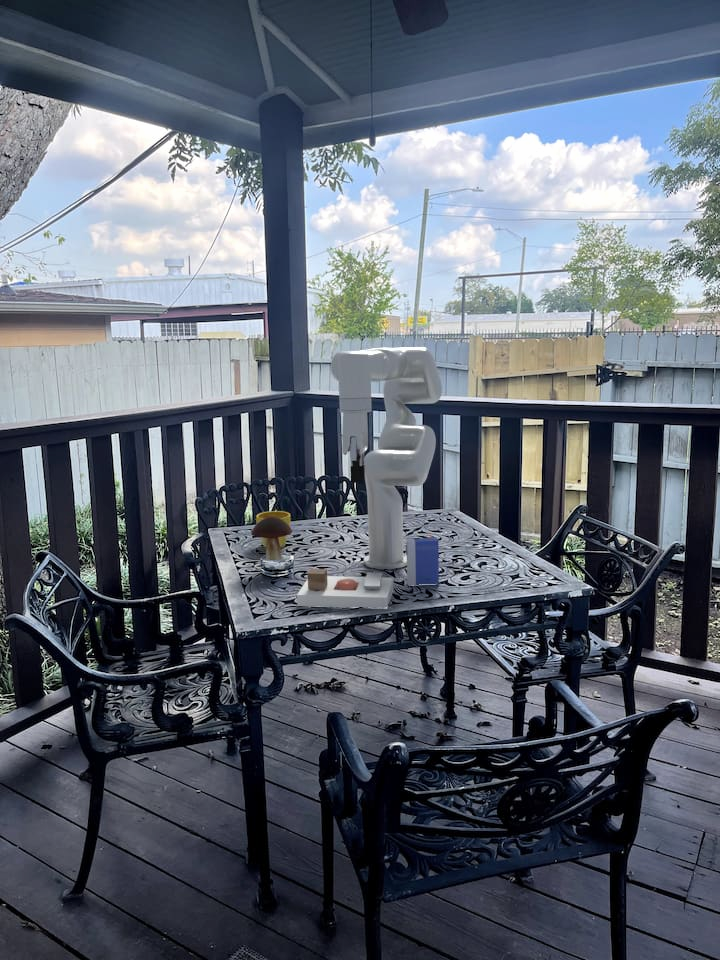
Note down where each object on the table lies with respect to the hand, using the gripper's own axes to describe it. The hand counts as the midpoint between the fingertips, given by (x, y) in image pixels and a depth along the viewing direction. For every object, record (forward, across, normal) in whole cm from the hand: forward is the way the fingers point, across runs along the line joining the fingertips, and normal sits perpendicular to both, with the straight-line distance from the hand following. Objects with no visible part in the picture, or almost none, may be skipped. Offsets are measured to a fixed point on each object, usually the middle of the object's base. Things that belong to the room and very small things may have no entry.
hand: (357, 481), depth 157 cm
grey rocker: (+23, +6, +4) cm, 24 cm away
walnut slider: (+24, +9, -9) cm, 27 cm away
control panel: (+27, +6, -2) cm, 28 cm away
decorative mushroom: (+27, -12, -26) cm, 40 cm away
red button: (+25, +6, -2) cm, 26 cm away
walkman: (+27, -4, +15) cm, 31 cm away
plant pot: (+27, -34, -32) cm, 54 cm away
